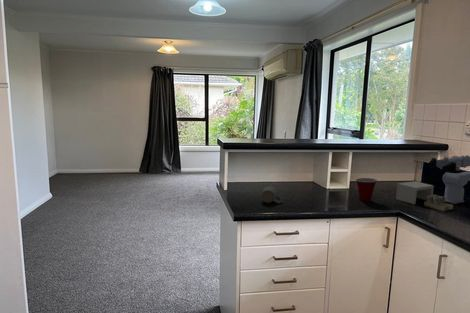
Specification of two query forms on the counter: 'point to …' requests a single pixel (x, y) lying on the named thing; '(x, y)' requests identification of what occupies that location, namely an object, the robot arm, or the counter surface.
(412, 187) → the grey rectangular box
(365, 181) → the plastic cup
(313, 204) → the counter surface
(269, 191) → the ceramic mug
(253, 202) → the counter surface
